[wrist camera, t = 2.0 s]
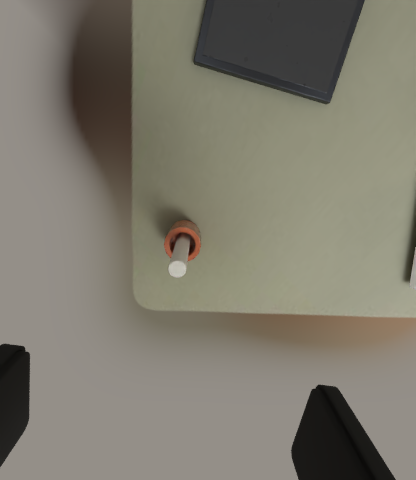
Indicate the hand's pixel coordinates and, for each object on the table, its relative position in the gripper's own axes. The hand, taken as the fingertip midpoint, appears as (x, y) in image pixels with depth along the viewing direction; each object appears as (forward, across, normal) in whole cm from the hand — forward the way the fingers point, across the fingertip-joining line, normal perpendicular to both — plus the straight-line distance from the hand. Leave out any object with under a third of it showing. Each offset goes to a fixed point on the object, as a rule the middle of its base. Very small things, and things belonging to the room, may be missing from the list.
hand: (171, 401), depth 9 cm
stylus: (+22, +1, 0) cm, 22 cm away
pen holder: (+22, +1, 0) cm, 22 cm away
